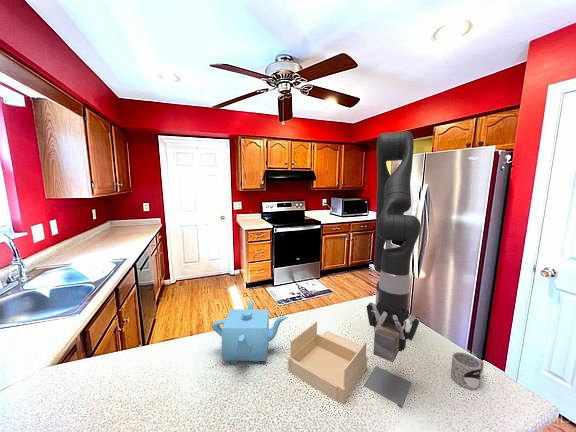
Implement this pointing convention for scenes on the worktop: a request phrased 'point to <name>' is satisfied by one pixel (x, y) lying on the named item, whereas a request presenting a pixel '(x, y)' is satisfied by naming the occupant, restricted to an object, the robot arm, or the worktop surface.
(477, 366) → the mug
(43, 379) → the worktop surface
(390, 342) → the bar
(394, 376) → the mat
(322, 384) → the carton
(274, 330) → the teakettle
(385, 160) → the robot arm
